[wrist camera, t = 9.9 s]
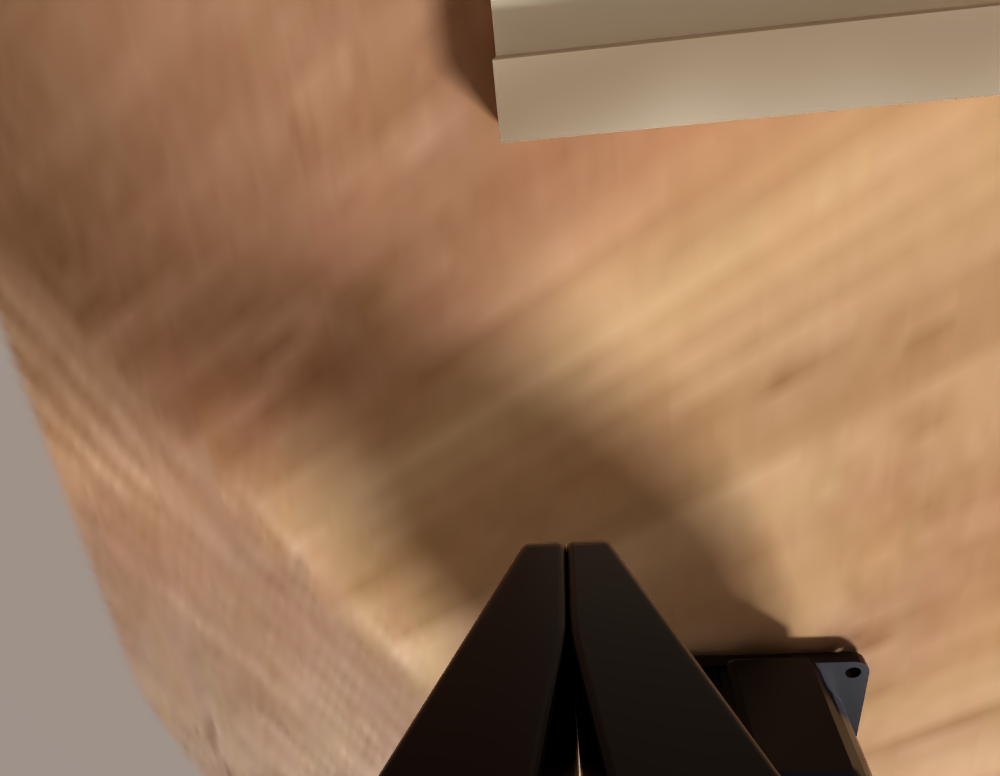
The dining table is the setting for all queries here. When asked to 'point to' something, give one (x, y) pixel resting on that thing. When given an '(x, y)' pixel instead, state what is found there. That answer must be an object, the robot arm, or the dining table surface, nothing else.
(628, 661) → the robot arm
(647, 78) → the chute
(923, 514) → the dining table surface
